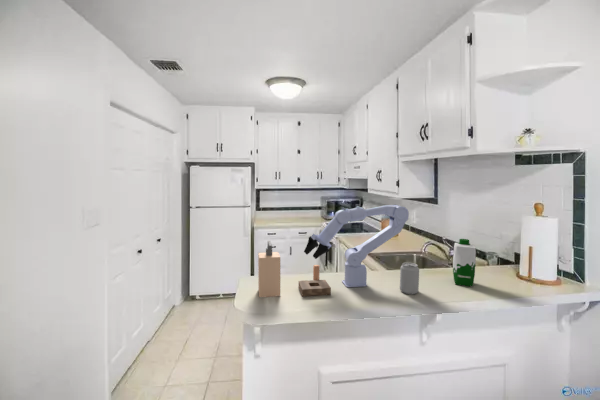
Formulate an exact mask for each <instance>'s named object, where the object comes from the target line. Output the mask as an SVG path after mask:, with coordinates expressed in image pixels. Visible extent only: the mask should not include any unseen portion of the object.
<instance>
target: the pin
mask: <svg viewBox="0 0 600 400" xmlns="http://www.w3.org/2000/svg"><path fill="white" fill-rule="evenodd" d="M312 267H313V271H312V273H313V274H312V275H313V276H312V278H313V280H320V267H321V266H320V264H314V265H313V266H312Z"/></svg>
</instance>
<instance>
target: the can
mask: <svg viewBox="0 0 600 400" xmlns="http://www.w3.org/2000/svg"><path fill="white" fill-rule="evenodd" d="M418 266H419V265H418V264H416V263H414V262H403V263H401V266H400V268H399V269H400V270H399V271H400V273H399V274H400V275H399V290H400V291H401V293H403V294H406V295H416V294H417V293H419V291H420V289H419V285H420V284H419V283H420V267H418Z"/></svg>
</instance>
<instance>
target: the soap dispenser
mask: <svg viewBox="0 0 600 400" xmlns="http://www.w3.org/2000/svg"><path fill="white" fill-rule="evenodd" d="M257 253H258V254H257V255H258V256H257V258H258V259H257V260H258V261H257V263H258V264H257V266H258V269H257V270H258V271H257V275H258V277H257V278H258V290H257V291H258V296H259V298H270V297H272V298H273V297H281V255H280V252H279V251H273V245H272V242H271V240H267V247H266V248H265V252H257Z"/></svg>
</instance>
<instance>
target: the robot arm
mask: <svg viewBox="0 0 600 400" xmlns="http://www.w3.org/2000/svg"><path fill="white" fill-rule="evenodd" d="M381 215H386V216H388V217H389V220H388V221H389V222H388V223H389V224H388V226H386V227H384V228H383V229H382V230H380V231H379V232H377V233H376V234H374V235H373V236H371V237H370V238H368V239H367V240H366V241H364V242H362V243H361V244H358V245H355V246H354V247H350V248H347V249H346V250H345V251H344V258H345V260H346V261H345V262H344V279H342V280H341V282H342V284H343V285H344V286H345V287H346V288H357V287H358V288H361V287H367V286H368V285H367V277H368V276H367V273H368V272H367V267H366V265H365V264H363V263H362V262H363V261H364V260H365V259H366V258H367V256H368V255H369V254H370V253H371V252H373V251H374V250H376V249H378V248H379V247H380V246H382V245H383V244H385V243H386V242H387V241H389V240H391V239H393V238H394V237H396V236H397V235H398V234H400V233H401V232H402V230H403V228H404V227H405V224H406V222H407V221H408V220H409V215H410V213H409V210H408V208H407V207H405V206H403V205H402V206H401V205H399V204H385V205H380V206H376V207H371V208H366V209H365V208H364V207H362V206H361V207H360V206H359V205H357V206H356V207H354V208H345V210H343V209H339V210H337V211H336V212H335V213H334V216H333V217H332V219H331V220H330V221H329V222H328V223H327V224H326V226H325V227H324V228H323V229H322V231H320V233H319V234H316V233H312V234H311V235H310V236H308V241H307V244H306V246H305V247H304V248H305V249H304V251H303V253H305V254H306V255H309V254H310V253H311V252H312V251H314V249H315V248H317V249H316V250H315V252H313V254H312V257H313V258H314V259H315V260H317V259H318V258H319V257H321V256H322V255H324V254H326V253H328V252H330V248H331V247H333V246H332V244H331V243H330V242H331V241H332V240H333V238H334V237H335V236H336V235H337V234H338V233H339V231H340V230H341V229H342V228H343V226H344V225H347V224H348V223H349V222H350V223H351V222H357V221H358V222H359V221H363V220H364V221H365V220H366V218H367V217H373V216H381ZM318 243H319V244H318Z"/></svg>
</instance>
